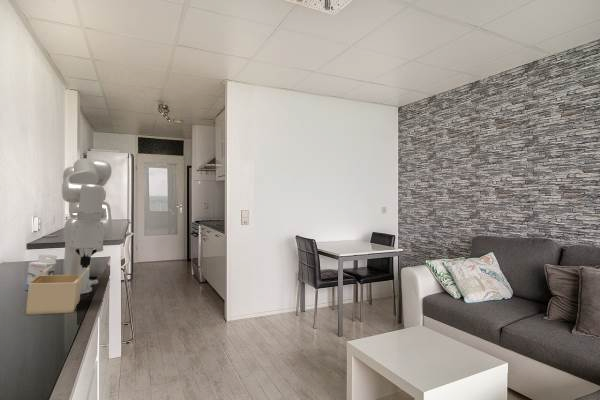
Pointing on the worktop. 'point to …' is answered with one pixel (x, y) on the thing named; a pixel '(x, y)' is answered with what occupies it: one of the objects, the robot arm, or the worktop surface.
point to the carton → (53, 294)
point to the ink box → (41, 267)
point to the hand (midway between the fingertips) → (84, 267)
